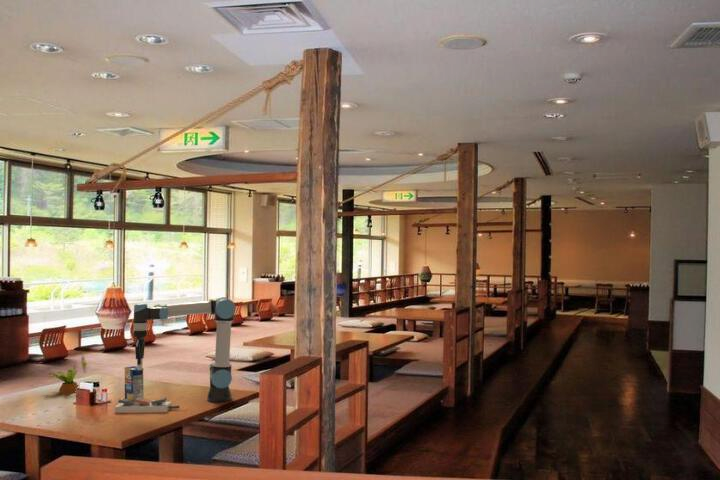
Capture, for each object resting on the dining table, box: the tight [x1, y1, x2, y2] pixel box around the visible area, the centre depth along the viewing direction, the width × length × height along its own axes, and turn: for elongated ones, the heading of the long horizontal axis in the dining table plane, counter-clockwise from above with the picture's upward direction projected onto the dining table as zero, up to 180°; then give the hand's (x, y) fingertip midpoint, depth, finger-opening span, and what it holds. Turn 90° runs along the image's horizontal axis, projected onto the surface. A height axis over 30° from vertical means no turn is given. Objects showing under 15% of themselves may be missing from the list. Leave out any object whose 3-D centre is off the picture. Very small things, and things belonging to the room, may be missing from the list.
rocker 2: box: [135, 398, 152, 405], centre depth 397 cm, size 8×4×2 cm, turn 91°
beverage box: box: [124, 365, 144, 401], centre depth 416 cm, size 7×11×22 cm, turn 45°
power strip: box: [114, 401, 180, 414], centre depth 399 cm, size 36×11×4 cm, turn 91°
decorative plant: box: [48, 355, 88, 395], centre depth 452 cm, size 27×24×25 cm
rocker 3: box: [151, 397, 167, 405], centre depth 397 cm, size 8×4×2 cm, turn 91°
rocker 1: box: [118, 397, 135, 405], centre depth 397 cm, size 8×4×2 cm, turn 91°
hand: (139, 369), depth 398 cm, fingers closed
